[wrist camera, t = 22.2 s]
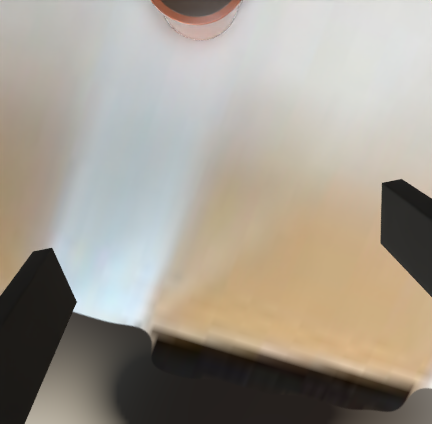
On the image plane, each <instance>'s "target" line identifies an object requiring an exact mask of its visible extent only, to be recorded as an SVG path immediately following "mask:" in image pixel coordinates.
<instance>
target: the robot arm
mask: <svg viewBox="0 0 432 424" xmlns="http://www.w3.org/2000/svg"><path fill="white" fill-rule="evenodd" d="M381 244H382V245H383V246H384V247H385V248H386V249H387V250H388V251H389V252H390V253H391V255H392V256H393V257H394V258H395V259H396V260H397V261H398V262H399V263H400V264H401V265H402V266H403V267H404V268H405V269H406V270H407V271H408V272H409V274H410V275H411V276H412V277H413V278H414V279H415V280H416V281H417V282H418V283H419V284H420V285H421V286H422V287H423V288H424V289H425V290H426V291H427V293H428V294H429V295H430V296H431V297H432V199H431V198H430V197H428V196H427V195H425V194H424V193H422V192H421V191H419V190H418V189H416V188H415V187H413V186H411V185H410V184H408V183H407V182H405V181H404V180H402V179H400V180H394V181H389V182H384V183H382V204H381ZM76 302H77V301H76V299H75V297H74V295H73V293H72V290H71V288H70V286H69V284H68V282H67V279H66V277H65V275H64V273H63V271H62V268H61V266H60V264H59V262H58V260H57V258H56V255H55V253H54V251H53V249H52V248H49V249H44V250H39V251H34V252H32V254H31V255H30V257H29V258H28V259H27V261H26V262H25V263H24V265H23V266H22V267H21V269H20V270H19V271H18V273H17V274H16V276H15V277H14V278H13V280H12V281H11V282H10V284H9V285H8V286H7V288H6V289H5V290H4V292H3V293H2V295H1V296H0V424H25V421H26V419H27V417H28V414H29V412H30V410H31V407H32V405H33V403H34V400H35V398H36V396H37V393H38V391H39V389H40V386H41V384H42V382H43V379H44V377H45V375H46V372H47V370H48V367H49V365H50V363H51V361H52V358H53V356H54V354H55V351H56V349H57V347H58V344H59V342H60V340H61V337H62V335H63V333H64V330H65V328H66V326H67V323H68V321H69V319H70V316H71V314H72V312H73V309H74V307H75V305H76Z"/></svg>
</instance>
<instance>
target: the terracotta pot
mask: <svg viewBox="0 0 432 424" xmlns="http://www.w3.org/2000/svg"><path fill="white" fill-rule="evenodd" d="M242 1H243V0H151V2H152V3H153V4H154V6H155V7H156V8H157V10H158V11H159V12H160V13H161V14H162V15H163V16H164V17H165V19H166V20H167V22H168V23H169V25H170V26H171V27H172V28H173V29H174V30H175V31H176V32H177V33H179V34H180V35H182V36H184V37H186V38H189V39H192V40H208V39H212V38H214V37H217V36H218V35H220V34H222V33H223V32H224V31H225V30H226V29H227V28H228V27H229V26H230V25H231V23H232V22H233V20H234V18H235V16H236V14H237V11H238V8H239V5H240V4H241V2H242Z"/></svg>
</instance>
